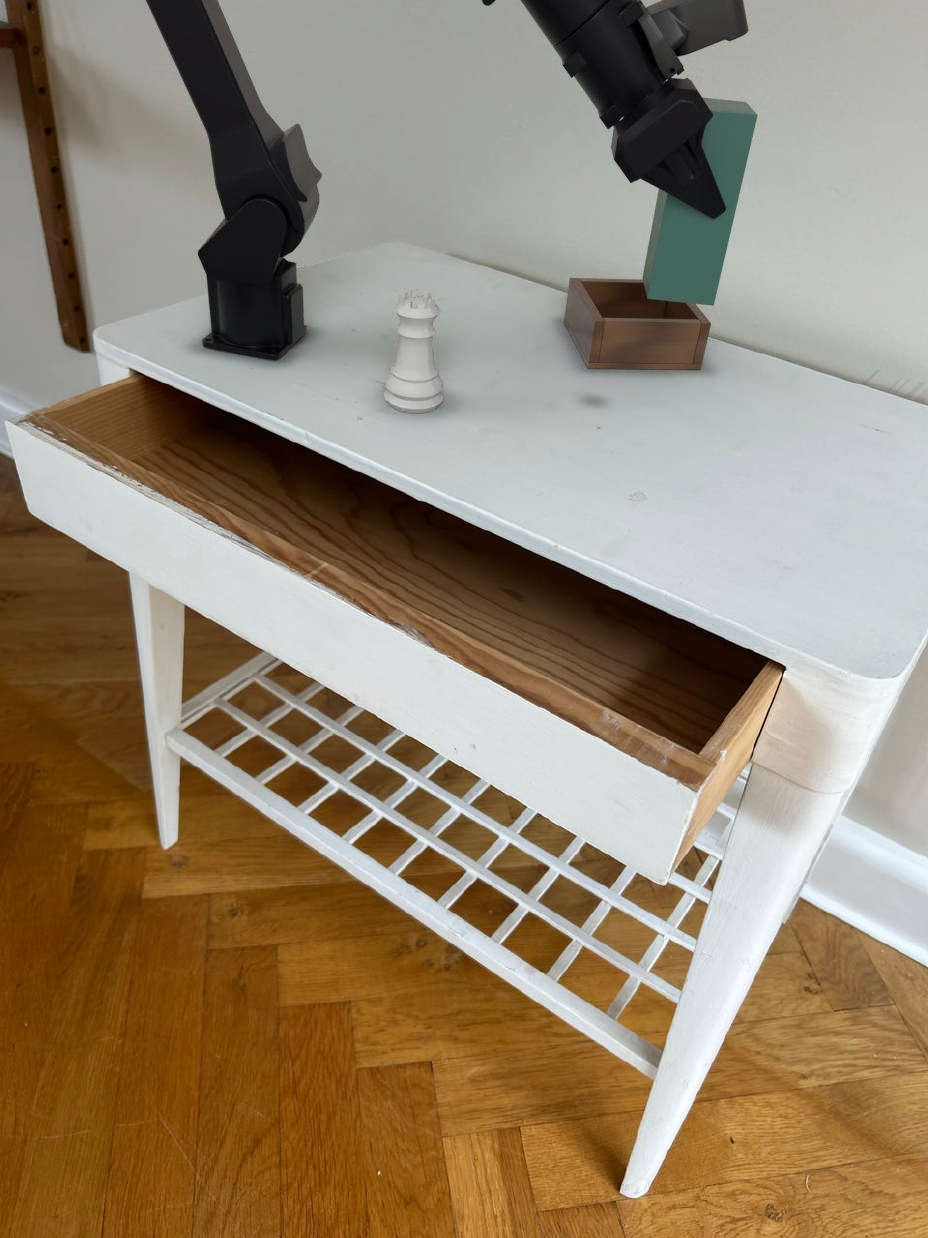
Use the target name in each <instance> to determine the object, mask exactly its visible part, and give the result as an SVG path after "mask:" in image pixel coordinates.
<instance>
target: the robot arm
mask: <svg viewBox="0 0 928 1238" xmlns="http://www.w3.org/2000/svg"><path fill="white" fill-rule="evenodd" d="M496 1H497V0H481V2H482V5H484V6H486V7H489V6H492V5H493V4H494V3H495V2H496ZM519 1H520V2H521V3H522V5H523V6H524V8H525V9H526V10H527V12H528V13H529V16H531V18H532V19H533V20H534V22H535V24H536V25H537V26H538V28H539V29H540V30H541V32H542V34H543V35H544V36H545V37H546V39H547V40H548V42H549V43H550V44H551V46H552V48H553V49H554V51H555V53H557V55H558V56H559V58H560V59H561V65H562V67H563V68H564V70H565V72H566V73H567V74H568V75H569V78H571V79H573V78H574V79H575V81H576V82H577V83H578V85H579V86H580V88H581V89H582V90H583V92H584V93H585V95H586V96H587V97H588V99H589V100H590V101H591V103H592V105H593V106H594V108H595V109H596V110H597V114H598V118H599V120H601V122H602V124H603V125H604V126H605V128H606V129H607V130H610V129H611V128H612V127H613V130H612V136H611V143H610V149H611V153H612V157H613V158H612V159H613V161H614V162H615V164H616V166H617V167H618V168H619V170H621V172H622V173H623V175H624V176H625V177H626V179H627V180H628V182H629V183H630V184H632V183H635V182H637V181H639V180H642V181H644V182H645V183H648V184H649V185H651V186H653V187H655V188H657V189H658V190H659V189H661V190H662V191H664V192H666V193H668V194H670V195H672V196H673V197H675V198H677V199H679V200H681V201H682V202H684V203H686V204H688V205H689V206H691V207H693V208H695V209H696V210H698V211H700V212H702V213H703V214H705V215H707V216H709V217H710V218H712V219H715V218H717V217H718V216H720V215H721V214H722V213H724V212H725V211H726V206H725V203H724V201H723V198H722V196H721V193H720V191H719V188H718V186H717V183H716V181H715V178H714V176H713V173H712V170H711V168H710V165H709V163H708V160H707V158H706V155H705V153H704V150H703V148H702V138H703V134H704V131H705V127H706V125H707V124H708V122H709V121H710V120H711V118H712V117H713V116H714V115H713V113H712V112H711V110H710V109H709V107H708V106H707V104H706V102H705V101H704V99H703V98H704V97H703V96H702V95H701V94H700V92H699V90H698V88H697V87H696V86H695V84H694V82H693V81H692V80H691V79H690V78H689V77H686V78H677V77H675V75H677V76H678V77H679V76H680V75H681V74H682V73H683V72H685V68H684V67H685V66H684V65H683V63H682V62H681V59H679V58H680V57H683V56H688V55H689V54H692V53H695V52H698V51H700V50H703V49H706V48H708V47H710V46H713V45H716V44H719V43H721V42H723V41H727V42H732V41H734V40H737V39H739V38H741V37H744V36H745V35H747V34H748V33H749V31H750V29H749V23H748V18H747V13H746V7H745V2H744V0H660V1H659V0H658V1H657V2H655V3H652V4H650V5H648V6H646V5H645V4H644V2H643V1H642V0H519ZM145 2H146V4H147V6H148V8H149V11H150V13H151V15H152V18H153V19H154V22H155V24H156V26H157V28H158V30H159V33H160V35H161V36H162V39H163V41H164V43H165V45H166V47H167V49H168V52H169V55H170V56H171V58H172V61H173V63H174V65H175V67H176V69H177V71H178V73H179V75H180V77H181V80H182V82H183V84H184V86H185V89H186V91H187V93H188V95H189V97H190V99H191V101H192V104H193V106H194V108H195V110H196V112H197V114H198V117H199V119H200V121H201V123H202V124H203V127H204V130H205V132H206V136H207V139H208V143H209V150H210V158H211V165H212V173H213V178H214V185H215V189H216V192H217V196H218V199H219V202H220V206H221V209H222V212H223V216H224V218H223V219H222V220H221V221H220V223H219V224H218V225H217V227H215V229H214V230H213V231H212V233H211V234H210V235H209V236H208V238H207V239H206V240H205V241H204V243H203V244H202V245H201V247H200V248H199V249H198V250H197V256H198V259H199V262H200V263H201V266H202V268H203V270H204V273H205V277H206V287H207V297H208V309H209V321H210V332H209V333H208V334H207V335H206V336H204V337H203V338H202V339H201V343H202V346H203V347H204V348H208V349H212V350H213V349H214V350H220V351H224V352H229V353H236V354H241V355H247V356H252V357H257V358H263V359H269V360H279V359H280V358H281V357H282V356H283V355H284V354H285V353H287V352H288V351H289V350H290V348H291V347H293V346H294V345H295V344H296V343H297V342H298V341H299V340H300V339H301V338H302V337H303V336H305V334H306V333H307V332H308V326H307V325H306V324H305V311H304V310H305V309H304V306H305V305H304V287H303V285H302V283H300V282H299V283H298V270H297V262H295V261H289V260H287V259H286V258H285V257H286V256H288V255H290V254H291V253H293V252H294V251H295V250H296V249H297V248H298V247H299V245H300V244H301V243H302V241H303V240H304V237H305V236H306V234H307V232H308V230H309V229H310V227H311V225H312V224H313V221H314V220H315V218H316V215H317V212H318V211H319V207H320V206H319V205H320V192H319V191H320V190H319V187H318V184H319V182H320V181H321V179H322V177H323V173H322V172H321V171H320V170H319V169H318V168H317V166H315V163H314V162H313V161H312V158H311V156H310V154H309V151H308V148H307V144H306V140H305V136H304V135H305V134H304V132H303V130H302V126H301V125H300V124H299V123H295V124H293V125H292V126H290V127H288V128H287V129H286V130H283V129H282V128H281V127H280V126H279V125H278V123H277V122H276V121H275V120H274V119H273V118H272V116H271V115H270V113H269V112H268V111H267V110H266V108H265V107H264V105H263V103H262V101H261V99H260V97H259V94H258V91H257V90H256V88H255V85H254V82H253V80H252V78H251V75H250V73H249V70H248V68H247V66H246V63H245V61H244V59H243V56H242V54H241V52H240V50H239V48H238V45H237V42H236V40H235V38H234V36H233V33H232V31H231V28H230V26H229V24H228V21H227V18H226V16H225V14H224V12H223V8H221V5H220V3H219V0H145ZM702 97H703V98H702Z"/></svg>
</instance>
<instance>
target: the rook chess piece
mask: <svg viewBox="0 0 928 1238" xmlns="http://www.w3.org/2000/svg"><path fill="white" fill-rule="evenodd" d="M418 293H419V291H418V289H410V295H409V291H407V290H403V291H401V292H400V294H399V296H398V297H399V299H398V301H397V302H396V303H395V305H394V306H393V311H394V312H395V314H396V315H397V317H398V318H399V324H398V325H397V327H396V329H395V330H396V332H397V334H398V346H397V351H396V356H395V360H394V363H393V365H392V366H391V368H390V372H389V373H387V376H386V377H385V380H384V385H385V388H386V389H385V390H384V392H383V398H384V400H385V401H386V403H387V404H388V405H389V406H390V407H392V408H393V409H394V410H396V411H399V412H401V413H406V414H407V413H408V414H424V413H429V412H432V411H433V410H435V409H436V408H438V407H439V406H440V404H442V403H443V400H444V395H443V392H442V390H443V388H444V382H443V380H442V377H441V376H440V374H439V370H438V368H437V367H436V365H435V358H434V347H433V342H434V336H435V334H436V333H437V330H436V328H435V327H434V321H435V320H436V319H437V318H438V316H439V315H440V313H441V309H440V307H439V306H438V304H437V303H436V301H437V296H436V294H435V293H434V294H431V291H428V290H423V291H422V295H418Z"/></svg>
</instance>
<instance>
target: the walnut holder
mask: <svg viewBox="0 0 928 1238" xmlns="http://www.w3.org/2000/svg"><path fill="white" fill-rule="evenodd" d="M566 295H567V296H566V303H565V312H564V318H563V324H564V325H565V327H566V329H567V331H568V333H569V336H570V337H571V339H572V341H573V343H574V344H575V347H576V349H577V350H578V353H579V354H580V356H581V358H582V360H583V362H584V364H585V367H586V368H587V369H591V370H592V369H593V370H595V369H596V370H601V369H602V370H685V371H689V370H690V371H691V370H694V371H695V370H696V371H701V370H702V366H703V361H704V357H705V353H706V349H707V343H708V339H709V335H710V332H711V331H710V330H711V326H712V322H711V321H710V320H709V318H707V316H706V315H705V314H704V313H703V311H702V310H701V309H700V308H699V306H698V304H692V303H682V302H673V301H663V300H653V299H647V295H646V291H645V287H644V282H643V279H641V278H639V279H635V278H634V279H633V278H596V277H595V278H594V277H592V278H591V277H569V281H568V288H567V294H566Z"/></svg>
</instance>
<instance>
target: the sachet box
mask: <svg viewBox="0 0 928 1238" xmlns="http://www.w3.org/2000/svg"><path fill="white" fill-rule="evenodd" d="M702 98H703V99H704V101H705V102H706V104H707V106H708V107H709V109H710V110H711V112H712V113H713V115H714V116H713V117H712V118H711V120H710V121H709V122H708V124H707V125H706V127H705V131H704V134H703V138H702V148H703V150H704V153H705V155H706V158H707V160H708V163H709V165H710V168H711V170H712V173H713V176H714V178H715V181H716V183H717V186H718V188H719V191H720V193H721V196H722V198H723V201H724V203H725V206H726V211H725V212H724V213H722V214H721V215H720V216H718V217H717V218H715V219H712V218H710V217H709V216H707V215H705V214H703V213H702V212H700V211H698V210H696V209H695V208H693V207H691V206H689V205H688V204H686V203H684V202H682V201H681V200H679V199H677V198H675V197H673V196H672V195H670V194H668V193H666V192H664V191H662V190H661V189H659V188H658V191H657V196H656V202H655V209H654V213H653V218H652V224H651V229H650V233H649V240H648V244H647V250H646V251H647V252H646V256H645V260H644V261H645V262H644V267H643V271H642V280H643V282H644V287H645V291H646V295H647V299H653V300H663V301H673V302H682V303H692V304H696V305H703V306H711V307H713V306H715V302H716V298H717V294H718V290H719V285H720V281H721V276H722V272H723V269H724V263H725V258H726V254H727V250H728V245H729V241H730V237H731V236H730V235H731V233H732V230H733V229H732V228H733V225H734V221H735V215H736V212H737V206H738V202H739V199H740V195H741V190H742V185H743V180H744V176H745V172H746V168H747V163H748V159H749V155H750V150H751V146H752V142H753V139H754V138H753V137H754V133H755V128H756V124H757V120H758V113H757V112H756V111H755V110H754V109H753V108H752V107H751V106H750V104H748V102H746V101H740V100H731V99H722V98H721V99H720V98H712V97H704V96H702Z"/></svg>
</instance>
